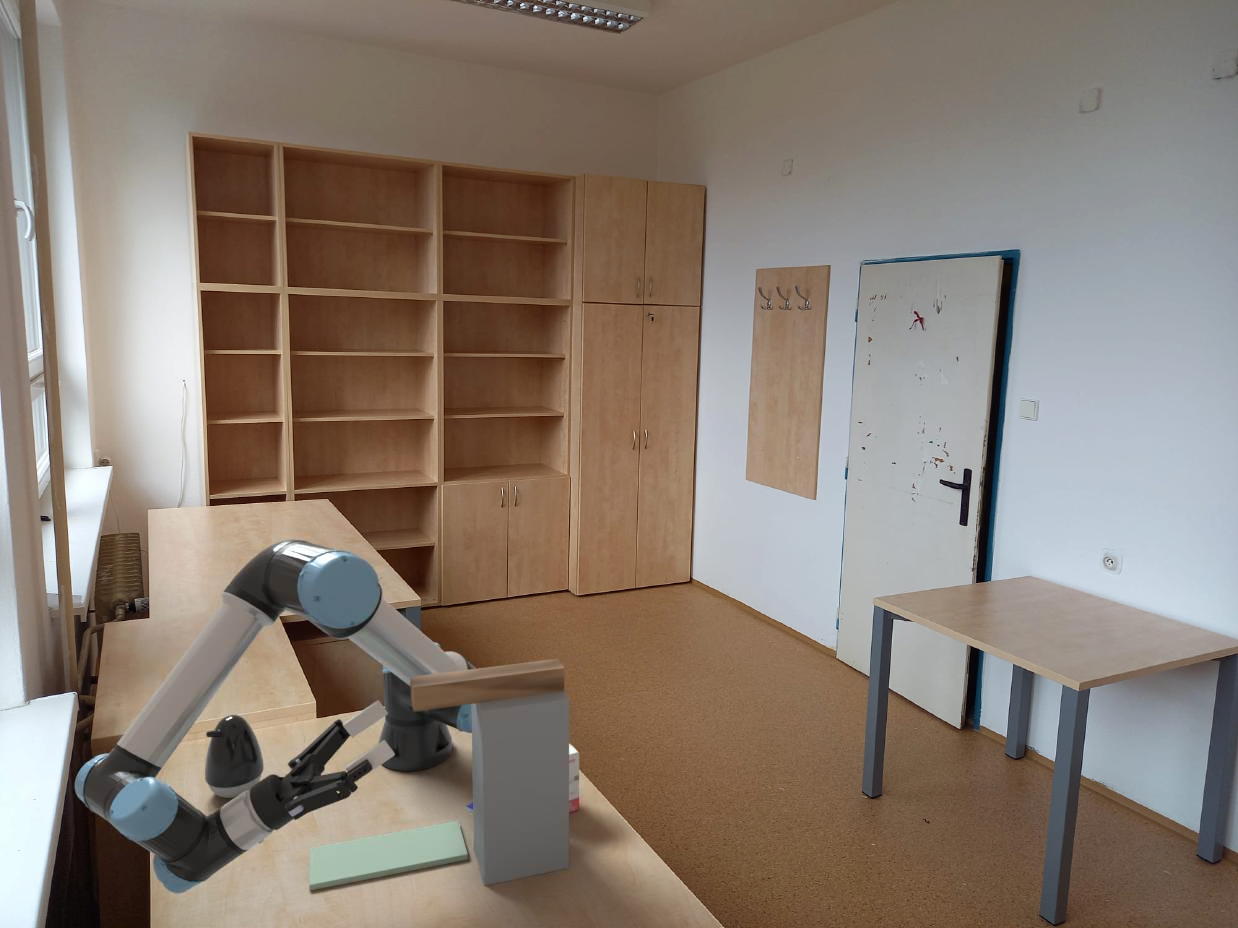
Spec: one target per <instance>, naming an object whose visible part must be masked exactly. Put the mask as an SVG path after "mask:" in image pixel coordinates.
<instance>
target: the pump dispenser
mask: <svg viewBox="0 0 1238 928" xmlns="http://www.w3.org/2000/svg"><path fill="white" fill-rule="evenodd" d="M205 736H206V737H207V738H210V739H209V744H208V746H207V747H208V748H207V753H206V757H205V763H204V764H205V765H204V767H205V768H204V779H205V782H206V784H207V785H208V788H209V789H210V790H211V791H212V792H213V794H215V795H216V796H218V797H220V798H223V799H224V798H225V799H226V798H227V799H234V798H235V797H237V796H238V795H240V794H241V793H243V792H244V791H246V790H249V791H250V790H251V788H252V786H254V785H255V784H257V783H258V782H260V781H261V778H262V774H263V772H264V769H265V768H264V767H265V766H264V765H265V764H264V759H263V754H262V749H261V746H260V743H259V741H258V738H257V736H256V734H255V732H254V730H253V728H252V726H251V725H250V723H249V722H248V721H247V719H245V718H244V717H243V716H241V715H239V714H238V715H237V714H229V715H227V716H224V717H223V718H221V719H220V720H219V722H217V724H216V725H215V728H214V729H213V730H208V731H207V732H206V734H205Z"/></svg>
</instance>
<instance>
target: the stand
mask: <svg viewBox="0 0 1238 928" xmlns="http://www.w3.org/2000/svg"><path fill="white" fill-rule="evenodd" d="M471 709H472V733H471V749H472V750H471V751H472V753H471V756H472V759H471V760H472V763H471V764H472V802H473V813H472V814H473V815H472V816H473V818H472V819H473V820H472V821H473V850H474V851H473V852H474V854H475V858H476V860H477V865H478V867H479V871H480V875H481V877H482V880H483V885H484V886H490V885H493V884H499V883H503V882H509V881H514V880H518V879H523V878H528V877H531V876H537V875H542V874H547V873H551V872H556V871H562V870H566V869H569V865H570V864H569V863H570V860H569V859H570V858H569V855H570V850H569V849H570V848H569V847H570V845H569V844H570V842H569V841H570V839H569V837H570V833H569V832H570V820H569V819H570V812H569V743H570V697H569V696H568V694H567V693H566V691H565V690H564V691H561V692H554V693H547V694H540V695H532V696H525V697H518V698H511V699H503V700H496V701H489V702H482V703H474V704H471Z"/></svg>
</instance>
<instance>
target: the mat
mask: <svg viewBox="0 0 1238 928" xmlns="http://www.w3.org/2000/svg"><path fill="white" fill-rule="evenodd" d="M468 854H469V853H468V851H467V847H466V843H465V840H464V836H463V833H462V830H461V826H460V822H459V820H455V821H451V822H450V821H448V822H444V823H438V824H433V825H427V826H423V827H417V828H411V829H406V830H399V831H394V832H390V833H384V834H378V835H372V836H368V837H362V838H356V839H350V840H344V841H339V842H334V843H329V844H324V845H317V846H313V847H309V869H308V870H309V871H308V872H309V875H308V876H309V877H308V878H309V883H308V884H309V885H308V886H309V891H316V890H319V889H325V888H330V887H334V886H340V885H345V884H349V883H355V882H361V881H364V880H365V881H366V880H369V879H370V880H371V879H377V878H380V877H381V878H382V877H385V876H390V875H395V874H399V873H405V872H406V873H407V872H411V871H416V870H421V869H426V868H431V867H437V866H441V865H446V864H450V863H451V864H452V863H456V862H461V861H466V860H468V858H469V857H468Z"/></svg>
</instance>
